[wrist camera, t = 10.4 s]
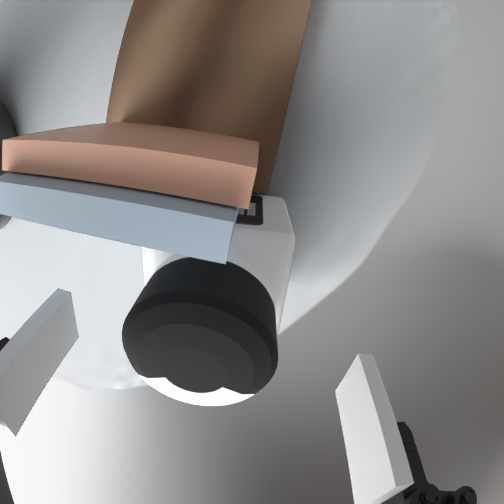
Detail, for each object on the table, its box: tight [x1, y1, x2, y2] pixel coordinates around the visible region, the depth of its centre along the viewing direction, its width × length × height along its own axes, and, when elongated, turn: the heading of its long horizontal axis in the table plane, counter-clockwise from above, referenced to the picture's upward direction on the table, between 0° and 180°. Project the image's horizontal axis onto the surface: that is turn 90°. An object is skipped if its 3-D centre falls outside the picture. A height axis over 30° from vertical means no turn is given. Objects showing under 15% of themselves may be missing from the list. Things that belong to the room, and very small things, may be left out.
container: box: [122, 194, 296, 406], centre depth 16 cm, size 8×8×13 cm
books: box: [0, 122, 259, 264], centre depth 12 cm, size 10×2×12 cm, turn 78°
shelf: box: [106, 0, 312, 194], centre depth 15 cm, size 12×21×2 cm, turn 168°
